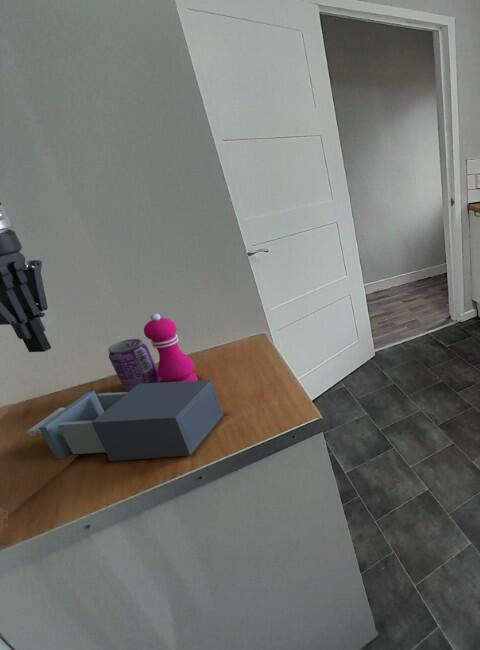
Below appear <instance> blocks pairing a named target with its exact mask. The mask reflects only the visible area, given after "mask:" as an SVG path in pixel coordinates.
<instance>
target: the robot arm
mask: <svg viewBox="0 0 480 650" xmlns="http://www.w3.org/2000/svg"><path fill="white" fill-rule="evenodd" d="M11 227H12V223H11V221H10V219H9V217H8V215H7V213H6V211H5V209H4V206H3V204H2V202H1V201H0V326H6V325H7V326H9V325H10V326H11V327H12V329H13V331H14V332H15V335H16V337H17V338H18V339H19V340H22V341H23V344H24V345H25V347H26V349H27V351H28V353H45V352H47V351H48V350H49V351H50V350H51V349H52V345H51V344H50V342H49V339H48V338H47V335H46V334H45V332H46V328H45V325H44V323H43V322H42V321H43V320H41V318H44V317H45V316H46V313H45V312H43V311H47V310H48V307H49V305H48V302H47V296H46V291H45V286H44V282H43V277H42V266H43V261H41V260H40V259H29V258H26V256H25V255H24V254H23V253H22V252H21V251H22V249H23V246H22V243H21V242H20V240H19V238H18V235H17V233H16V231H14V230H13V229H10V228H11Z"/></svg>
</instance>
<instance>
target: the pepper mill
mask: <svg viewBox="0 0 480 650" xmlns="http://www.w3.org/2000/svg"><path fill="white" fill-rule="evenodd" d="M177 330H178V326H177V325H176V323H175V322H174V321H173V320H172V319H170V318H167V317H161V315H160V314H159V313H153V314H151V315H150V320H149V321H148V322H147V323H146V324H145V325H144V326H143V334H144V336H145V337H146V338H147V339H148V340H151V341H150V343H151V345H152V347H153V348H154V349H156V350H157V353H158V355H159V356H158V357H159V360H158V364H157V370H158V375H159V377H160V378H161V380H162V381H165V382H185V381H198V376H197V374H196V372H195V369H196V364H195V363H194V361H193V360H192V359H191V358H190V357H189V356H188V355H187V354H185V352H183V351H182V349H181V348H180V347H179V343H178V341H180V340H179V337H178V334H177Z"/></svg>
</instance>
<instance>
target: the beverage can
mask: <svg viewBox="0 0 480 650" xmlns="http://www.w3.org/2000/svg"><path fill="white" fill-rule="evenodd" d="M108 352H109V353H108V359H109V361H110V363H111V365H112V367H113V369H114V371H115V374H116V375H117V378H118V379H119V381H120V384H121V386H122V387H123V390H124V392H129V391H130V390H132V389H133V388H134V387H135V386H137V385H138V384H144V383H160V381H161V380H162V379H161V378H160V377H159V375H158V367H157V365H156V363H155V361H154V359H153V356H152V354H151V352H150V349H149V348H148V345H147V344H145V343H144V342H143V340H142V339H141V338H129V339H125V340H121V341H118V342H116V343H114V344H111V346H109V347H108Z"/></svg>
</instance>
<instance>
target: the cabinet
mask: <svg viewBox="0 0 480 650" xmlns="http://www.w3.org/2000/svg"><path fill="white" fill-rule="evenodd" d="M223 416H224V413H223V410H222V407H221V405H220V402H219V399H218V395H217V392H216V389H215V386H214V384H213V380H212V379H208V380H207V379H206V380H205V379H204V380H197V381H185V382H158V383H144V384H138V385H137V386H135V387H134V388H133V389H132V390H130V391H129V392H128V393H127V394H126V395H124V396H123V397H122V398H121V399H119V400H118V401H117V402H116V403H115V404H113V405H112V406H111V407H110V408H108V409H107V410H106V411H105V412H103V413H102V414H101V415H100V416H99V417H97V418H96V419H95V420H94V421H92V422H91V423H92V425H93V427H94V429H95V431H96V433H97V435H98V437H99V439H100V441H101V443H102V445H103V447H104V449H105V451H106V452H105V453H106V456H107V457H108V459H109V462H117V461H118V462H119V461H133V460H143V459H144V460H146V459H160V458H161V459H162V458H175V457H176V458H177V457H190V456H192V455H193V453H194V452H195V451H196V449H197V448H198V447H199V446H200V445H201V444H202V442H203V441H204V440H205V438H206V437H207V436H208V434H209V433H210V432H211V431H212V430H213V428H214V427H215V426H216V425H217V423H218V422H219V421H220V419H222V417H223Z"/></svg>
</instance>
